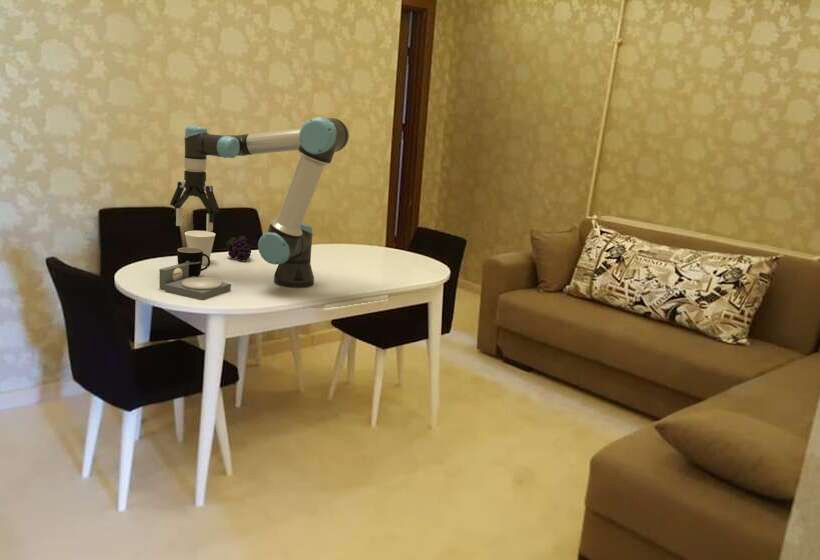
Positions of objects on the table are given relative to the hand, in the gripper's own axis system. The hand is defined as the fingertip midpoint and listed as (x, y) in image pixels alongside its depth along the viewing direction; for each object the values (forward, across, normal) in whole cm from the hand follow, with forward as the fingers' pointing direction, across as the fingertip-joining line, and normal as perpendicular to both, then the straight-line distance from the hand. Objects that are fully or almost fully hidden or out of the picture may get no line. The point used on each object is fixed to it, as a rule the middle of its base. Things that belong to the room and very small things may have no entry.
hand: (194, 228), depth 242 cm
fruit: (+18, +5, -35) cm, 40 cm away
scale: (+18, -13, +15) cm, 27 cm away
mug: (+18, 0, 0) cm, 18 cm away
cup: (+18, +11, -17) cm, 27 cm away
